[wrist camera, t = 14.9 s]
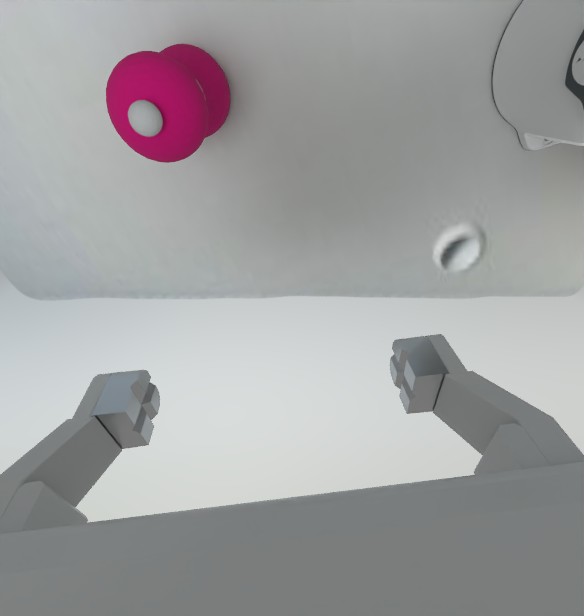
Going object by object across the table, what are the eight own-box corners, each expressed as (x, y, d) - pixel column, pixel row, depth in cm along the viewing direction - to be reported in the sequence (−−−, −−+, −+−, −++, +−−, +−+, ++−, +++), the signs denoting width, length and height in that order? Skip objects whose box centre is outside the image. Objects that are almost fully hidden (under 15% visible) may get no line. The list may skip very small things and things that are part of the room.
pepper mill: (144, 77, 32) (33, 96, 16) (199, 26, 30) (134, -8, 14) (195, 144, 36) (145, 211, 20) (247, 103, 34) (236, 142, 18)
